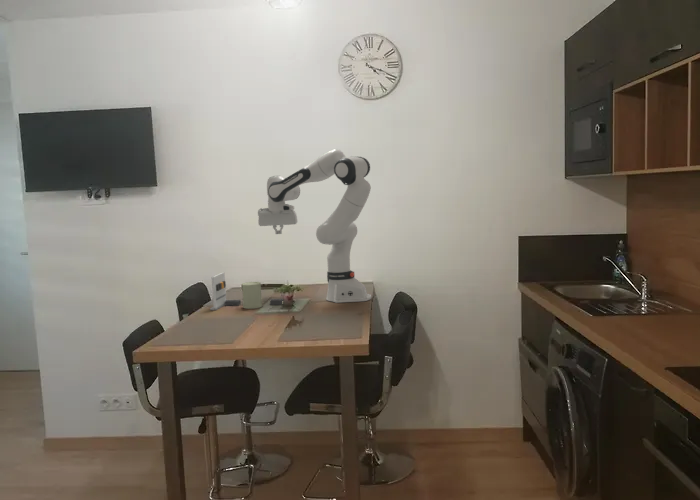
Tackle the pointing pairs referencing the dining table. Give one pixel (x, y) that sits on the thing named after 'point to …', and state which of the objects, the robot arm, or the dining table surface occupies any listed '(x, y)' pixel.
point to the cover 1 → (232, 302)
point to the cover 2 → (276, 301)
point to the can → (251, 295)
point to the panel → (218, 291)
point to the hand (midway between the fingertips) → (278, 234)
